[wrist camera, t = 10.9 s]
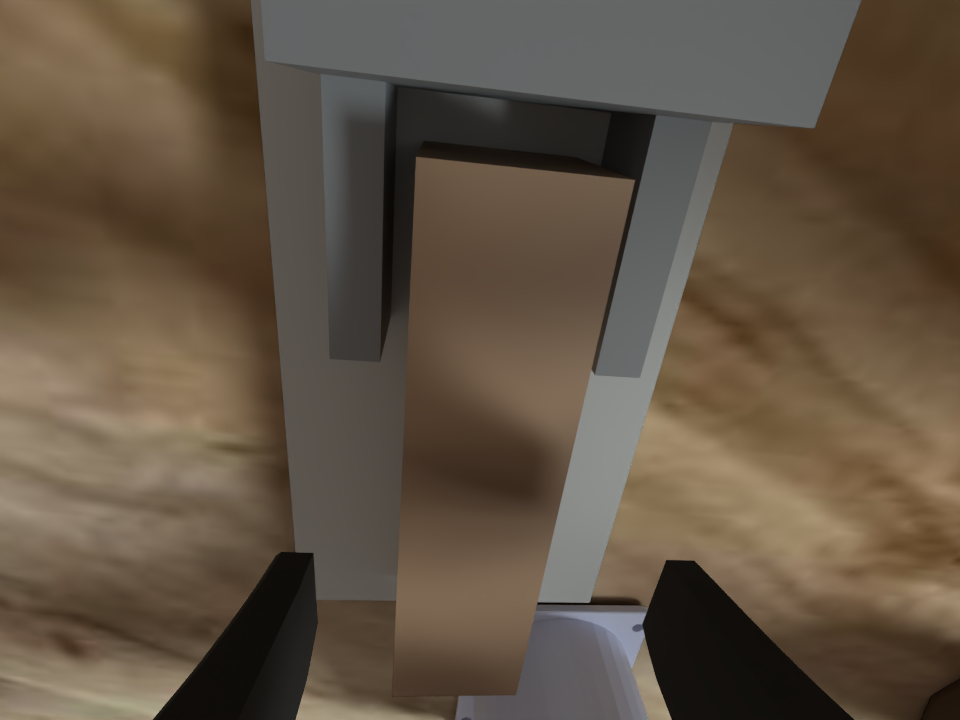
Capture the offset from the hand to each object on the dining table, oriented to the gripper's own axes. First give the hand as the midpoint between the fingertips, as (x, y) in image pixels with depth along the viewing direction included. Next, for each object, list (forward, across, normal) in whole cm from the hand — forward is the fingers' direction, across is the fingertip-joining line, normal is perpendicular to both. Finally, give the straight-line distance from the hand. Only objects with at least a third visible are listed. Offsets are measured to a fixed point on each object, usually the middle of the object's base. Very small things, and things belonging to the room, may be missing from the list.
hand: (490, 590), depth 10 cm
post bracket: (+8, 0, -1) cm, 8 cm away
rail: (+7, 0, 0) cm, 7 cm away
